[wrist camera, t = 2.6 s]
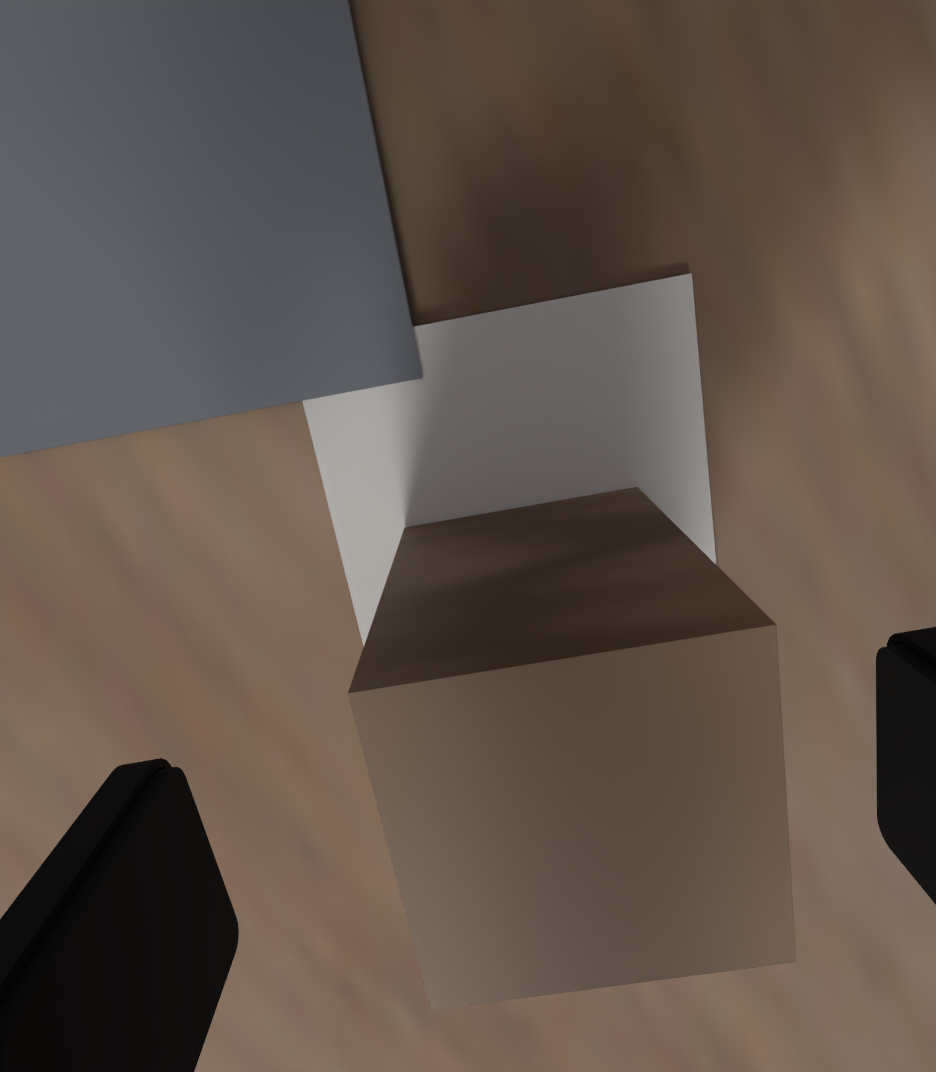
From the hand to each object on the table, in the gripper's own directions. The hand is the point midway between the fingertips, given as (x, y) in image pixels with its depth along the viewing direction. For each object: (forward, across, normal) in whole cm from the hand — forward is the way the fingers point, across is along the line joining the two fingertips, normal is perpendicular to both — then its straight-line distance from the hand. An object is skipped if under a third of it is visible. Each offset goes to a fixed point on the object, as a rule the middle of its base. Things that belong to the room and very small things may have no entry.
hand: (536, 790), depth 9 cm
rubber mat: (+7, +5, -10) cm, 13 cm away
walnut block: (+6, -1, 0) cm, 6 cm away
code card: (+7, -1, 0) cm, 7 cm away
